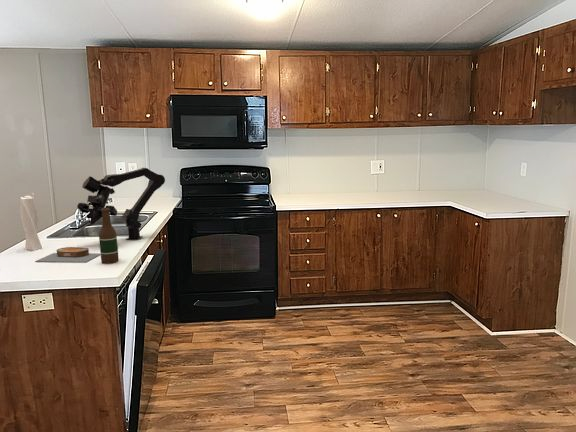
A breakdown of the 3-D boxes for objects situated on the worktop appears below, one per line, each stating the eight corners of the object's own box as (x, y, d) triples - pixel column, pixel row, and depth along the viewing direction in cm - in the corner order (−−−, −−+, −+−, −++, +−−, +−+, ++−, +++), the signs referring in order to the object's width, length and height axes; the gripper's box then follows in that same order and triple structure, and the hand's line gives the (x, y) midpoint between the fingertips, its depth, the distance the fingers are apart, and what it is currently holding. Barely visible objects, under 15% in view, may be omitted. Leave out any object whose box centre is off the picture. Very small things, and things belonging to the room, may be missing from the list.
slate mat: (53, 253, 224) (53, 252, 224) (101, 254, 222) (101, 253, 222) (35, 262, 210) (35, 261, 210) (86, 262, 208) (86, 261, 208)
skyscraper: (46, 247, 237) (39, 192, 232) (33, 251, 230) (26, 194, 225) (34, 246, 239) (27, 191, 234) (21, 250, 233) (14, 193, 227)
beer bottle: (97, 261, 209) (92, 208, 205) (114, 258, 214) (110, 206, 210) (105, 265, 204) (100, 210, 199) (122, 261, 209) (117, 208, 204)
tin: (92, 247, 222) (81, 250, 214) (92, 254, 223) (81, 257, 214) (64, 246, 225) (52, 249, 217) (64, 253, 226) (52, 256, 218)
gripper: (77, 186, 232) (66, 214, 225) (113, 190, 230) (103, 218, 223) (87, 198, 242) (76, 225, 235) (121, 202, 240) (112, 229, 233)
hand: (91, 224), depth 231 cm, fingers closed
